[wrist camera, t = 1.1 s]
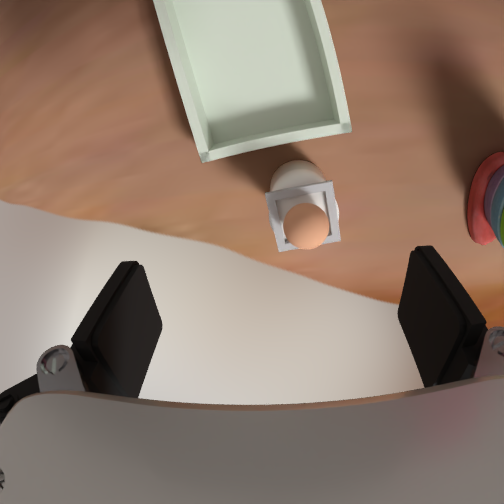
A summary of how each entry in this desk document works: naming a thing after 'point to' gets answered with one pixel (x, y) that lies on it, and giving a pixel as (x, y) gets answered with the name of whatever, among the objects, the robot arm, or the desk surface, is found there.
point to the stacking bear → (487, 201)
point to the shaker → (300, 198)
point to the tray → (254, 72)
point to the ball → (306, 226)
